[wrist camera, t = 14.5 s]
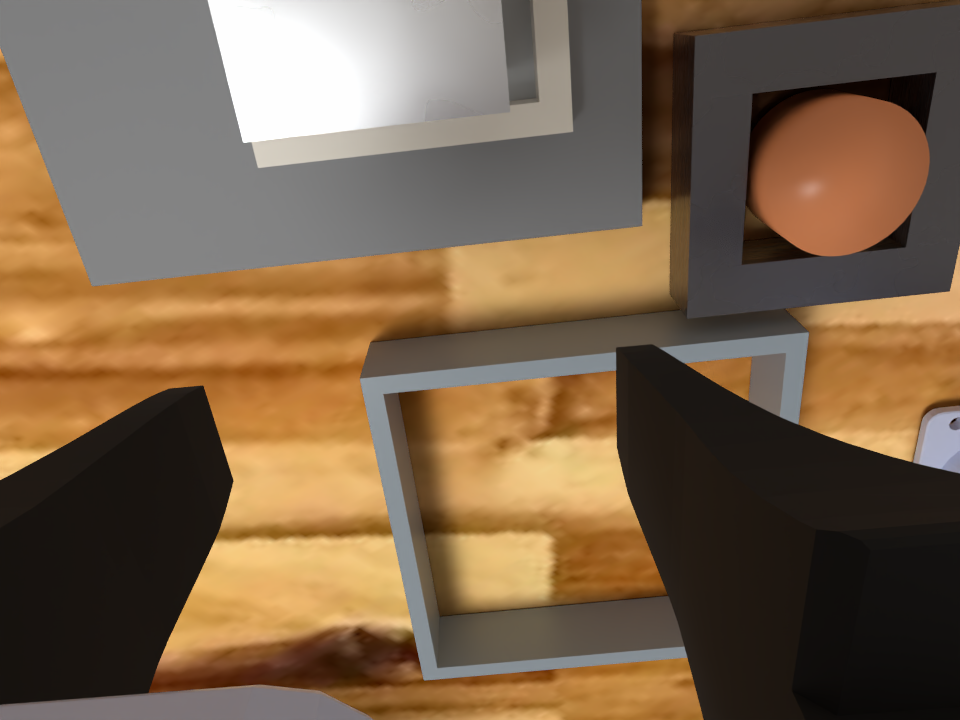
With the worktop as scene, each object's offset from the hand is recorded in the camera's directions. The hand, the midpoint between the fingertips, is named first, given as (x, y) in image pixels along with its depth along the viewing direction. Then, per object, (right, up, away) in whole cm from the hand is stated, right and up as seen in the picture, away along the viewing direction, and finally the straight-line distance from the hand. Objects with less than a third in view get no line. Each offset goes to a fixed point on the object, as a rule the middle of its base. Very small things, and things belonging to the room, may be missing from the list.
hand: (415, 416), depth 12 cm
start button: (+11, +7, +8) cm, 15 cm away
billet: (-1, +10, +5) cm, 11 cm away
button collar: (+11, +7, +8) cm, 15 cm away
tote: (+5, -4, +13) cm, 15 cm away
